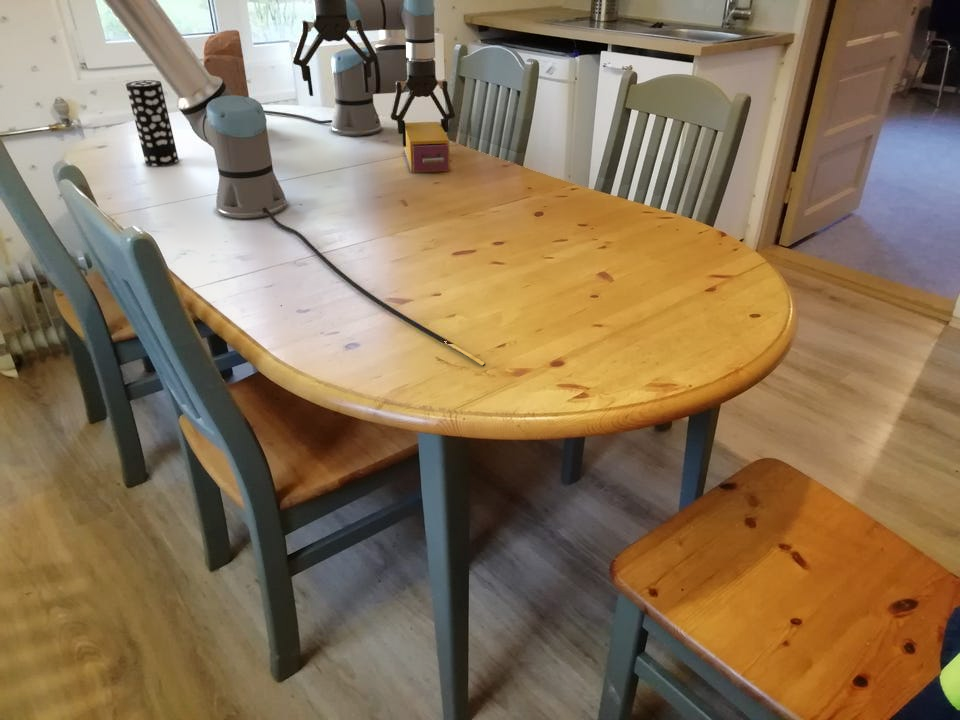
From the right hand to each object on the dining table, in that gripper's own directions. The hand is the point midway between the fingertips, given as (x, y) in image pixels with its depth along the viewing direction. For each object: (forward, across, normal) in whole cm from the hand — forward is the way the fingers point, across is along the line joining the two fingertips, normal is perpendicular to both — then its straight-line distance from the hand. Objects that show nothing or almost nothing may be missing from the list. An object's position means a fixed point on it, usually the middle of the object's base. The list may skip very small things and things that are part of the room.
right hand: (423, 144), depth 193 cm
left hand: (-17, +22, +11) cm, 30 cm away
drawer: (+2, 0, +11) cm, 11 cm away
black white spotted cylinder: (-7, +71, -4) cm, 71 cm away
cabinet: (+3, 0, +5) cm, 6 cm away
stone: (+3, +55, -33) cm, 64 cm away
